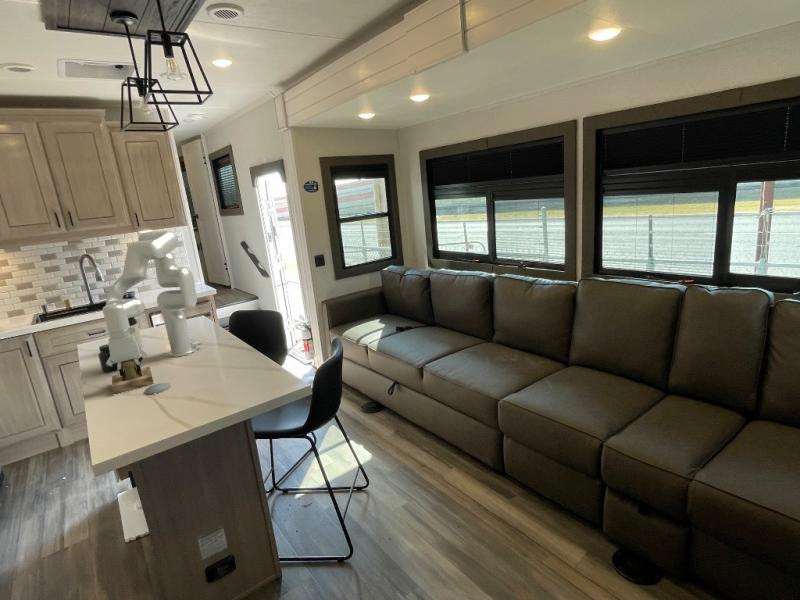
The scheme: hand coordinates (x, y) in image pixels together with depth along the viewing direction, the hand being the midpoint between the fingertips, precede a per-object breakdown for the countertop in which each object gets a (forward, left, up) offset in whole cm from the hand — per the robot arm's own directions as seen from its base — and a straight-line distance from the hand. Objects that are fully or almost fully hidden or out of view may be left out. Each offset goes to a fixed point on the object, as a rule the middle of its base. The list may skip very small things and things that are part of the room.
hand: (131, 374), depth 177 cm
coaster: (-8, +14, -4) cm, 17 cm away
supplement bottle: (+8, -27, -4) cm, 29 cm away
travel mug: (-2, -55, -4) cm, 55 cm away
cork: (0, 0, -4) cm, 4 cm away
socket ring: (0, 0, -4) cm, 4 cm away
